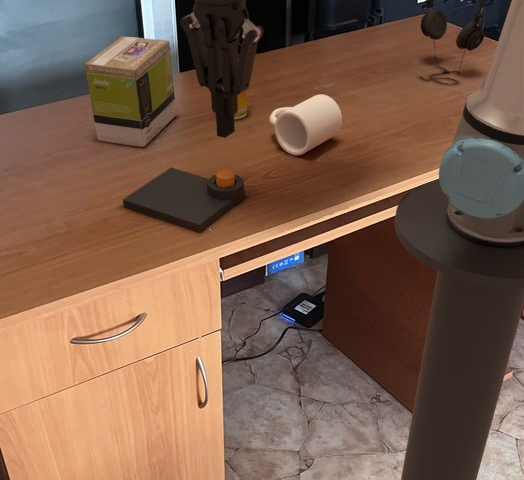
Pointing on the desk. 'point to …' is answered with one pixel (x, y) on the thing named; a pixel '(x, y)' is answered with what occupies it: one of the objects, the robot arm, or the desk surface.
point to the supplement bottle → (241, 105)
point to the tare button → (225, 178)
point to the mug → (306, 124)
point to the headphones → (437, 24)
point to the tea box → (131, 90)
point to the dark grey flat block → (185, 199)
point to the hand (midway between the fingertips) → (225, 133)
